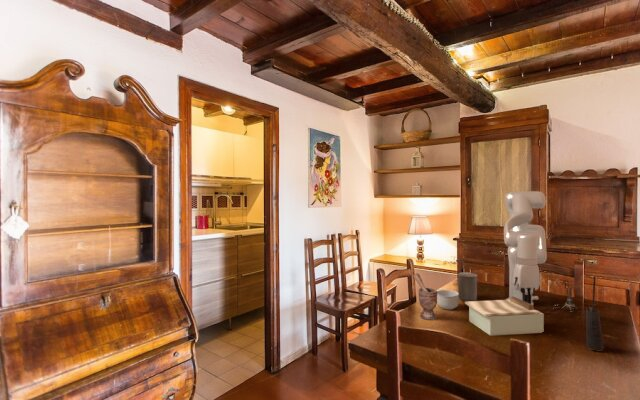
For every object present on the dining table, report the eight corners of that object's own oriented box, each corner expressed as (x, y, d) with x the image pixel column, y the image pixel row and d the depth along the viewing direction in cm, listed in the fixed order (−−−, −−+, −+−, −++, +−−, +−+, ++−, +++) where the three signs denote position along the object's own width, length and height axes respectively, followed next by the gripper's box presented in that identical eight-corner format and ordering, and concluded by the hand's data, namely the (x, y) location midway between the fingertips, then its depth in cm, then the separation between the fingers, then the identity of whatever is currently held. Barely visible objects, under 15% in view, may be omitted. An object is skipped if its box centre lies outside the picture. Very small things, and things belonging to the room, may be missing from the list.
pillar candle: (459, 300, 185) (459, 273, 185) (457, 295, 194) (457, 269, 194) (478, 302, 182) (478, 274, 182) (475, 296, 191) (475, 270, 191)
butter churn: (577, 340, 135) (578, 270, 134) (609, 347, 129) (610, 274, 128) (577, 348, 128) (577, 275, 127) (610, 356, 122) (611, 279, 121)
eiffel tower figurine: (586, 309, 172) (586, 283, 171) (591, 315, 163) (591, 288, 162) (550, 304, 179) (551, 279, 178) (553, 310, 170) (553, 284, 169)
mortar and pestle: (410, 317, 161) (410, 275, 160) (415, 311, 168) (414, 271, 168) (435, 321, 155) (435, 278, 154) (439, 315, 162) (439, 274, 162)
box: (517, 318, 158) (517, 301, 158) (543, 332, 142) (543, 313, 142) (469, 320, 156) (469, 303, 155) (490, 335, 140) (490, 316, 139)
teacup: (462, 311, 168) (462, 295, 168) (440, 311, 168) (440, 295, 168) (451, 302, 182) (451, 287, 182) (431, 302, 182) (431, 287, 182)
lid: (513, 301, 158) (513, 295, 158) (539, 313, 142) (539, 306, 142) (464, 303, 155) (464, 297, 155) (485, 316, 139) (485, 309, 139)
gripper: (536, 259, 154) (535, 299, 154) (505, 260, 152) (505, 300, 153) (549, 263, 146) (548, 304, 147) (517, 264, 145) (517, 306, 145)
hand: (526, 302), depth 150 cm, fingers closed
